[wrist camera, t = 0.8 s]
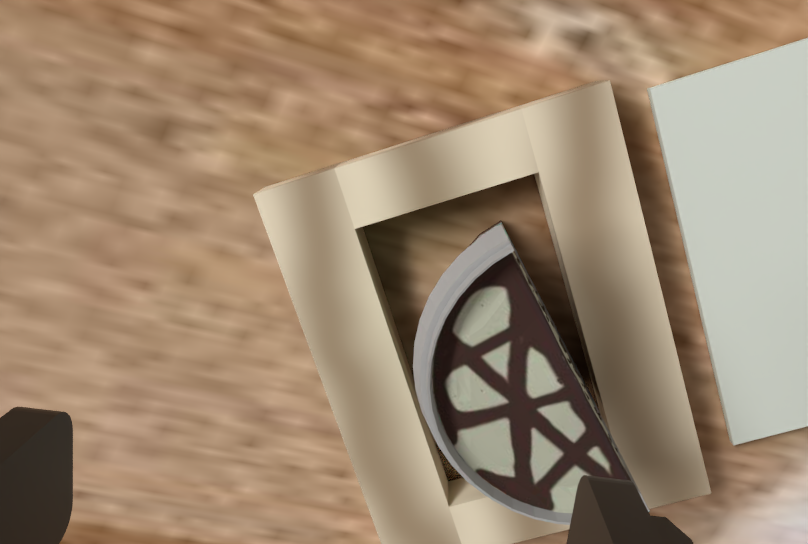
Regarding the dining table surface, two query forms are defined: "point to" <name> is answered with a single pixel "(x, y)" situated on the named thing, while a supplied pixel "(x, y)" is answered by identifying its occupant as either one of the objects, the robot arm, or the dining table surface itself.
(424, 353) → the patterned half cylinder
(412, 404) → the frame
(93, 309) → the dining table surface
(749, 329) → the mat
